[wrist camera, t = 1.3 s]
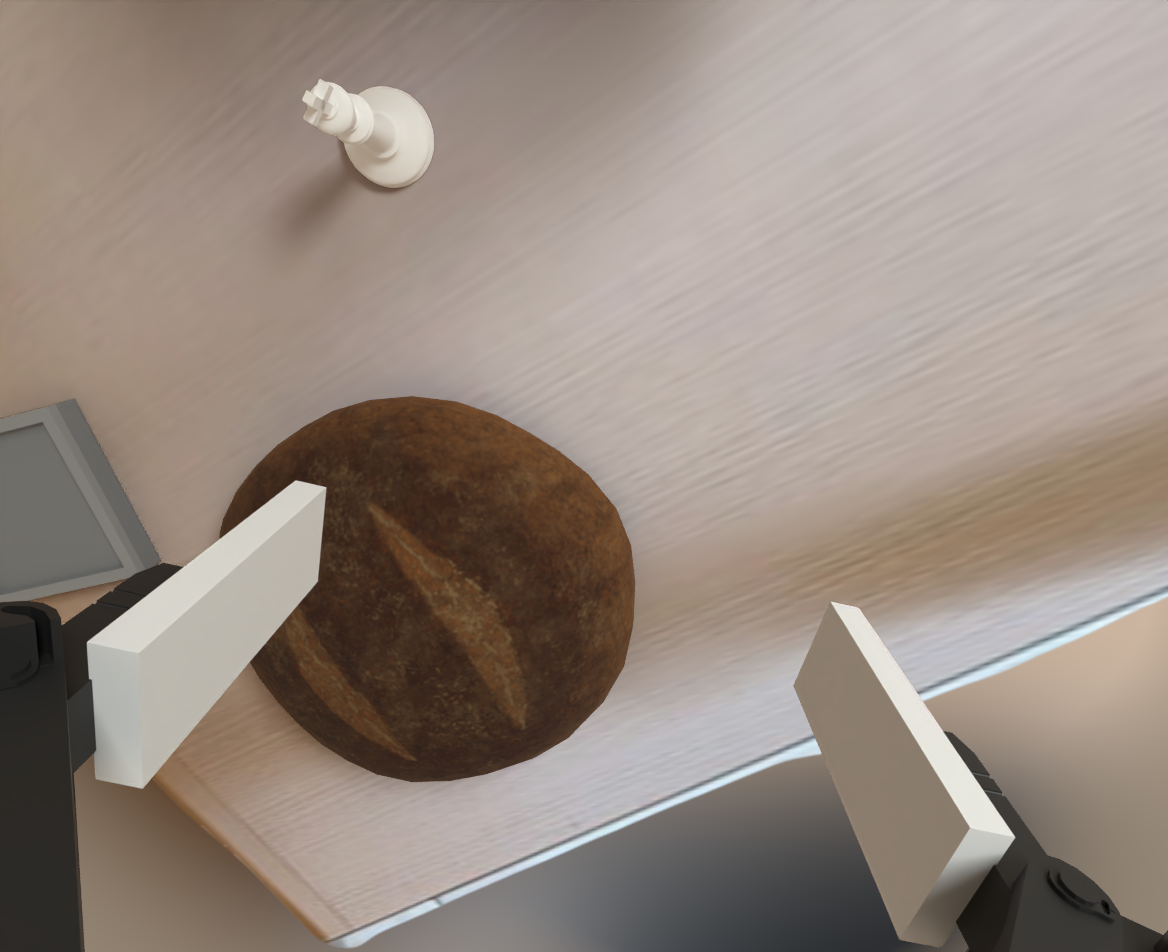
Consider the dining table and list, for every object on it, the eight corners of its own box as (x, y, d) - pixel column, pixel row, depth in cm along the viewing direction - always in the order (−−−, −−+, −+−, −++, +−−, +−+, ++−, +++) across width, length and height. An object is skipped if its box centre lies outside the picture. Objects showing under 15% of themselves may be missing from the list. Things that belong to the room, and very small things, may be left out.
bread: (512, 309, 38) (485, 326, 29) (699, 649, 46) (720, 738, 37) (156, 508, 43) (50, 570, 35) (379, 781, 51) (336, 884, 43)
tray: (-84, 440, 41) (-119, 449, 40) (74, 398, 40) (46, 406, 38) (13, 593, 45) (-13, 609, 43) (161, 560, 44) (140, 575, 42)
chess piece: (330, 153, 35) (229, 119, 25) (369, 67, 33) (276, -5, 24) (409, 206, 36) (338, 191, 26) (450, 123, 34) (391, 76, 25)
